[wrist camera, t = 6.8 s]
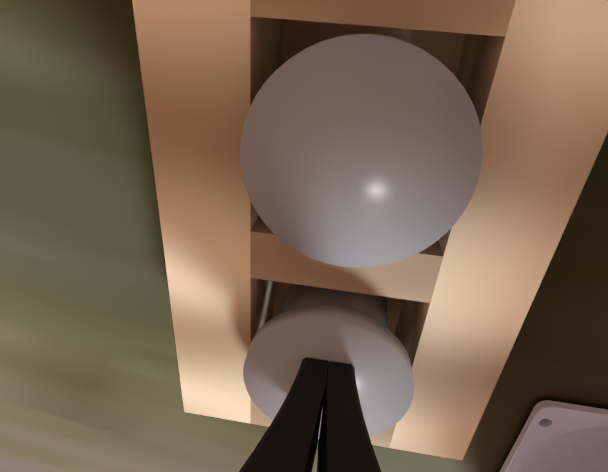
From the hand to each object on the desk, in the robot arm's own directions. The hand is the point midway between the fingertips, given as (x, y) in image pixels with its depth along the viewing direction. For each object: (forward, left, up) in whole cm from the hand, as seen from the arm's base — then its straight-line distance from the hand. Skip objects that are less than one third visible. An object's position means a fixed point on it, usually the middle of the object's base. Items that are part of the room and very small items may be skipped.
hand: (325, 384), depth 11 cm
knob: (0, 0, -4) cm, 4 cm away
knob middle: (+7, 0, -4) cm, 8 cm away
